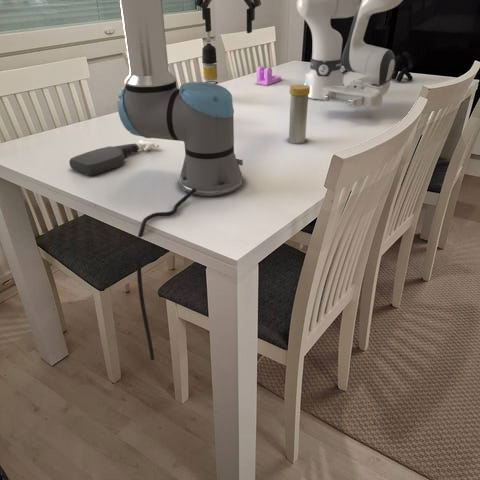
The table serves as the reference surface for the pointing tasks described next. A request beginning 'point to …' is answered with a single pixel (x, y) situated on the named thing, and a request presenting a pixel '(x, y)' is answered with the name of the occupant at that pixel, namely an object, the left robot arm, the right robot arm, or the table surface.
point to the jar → (298, 118)
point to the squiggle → (402, 67)
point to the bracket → (266, 76)
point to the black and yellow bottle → (209, 61)
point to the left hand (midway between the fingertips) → (228, 32)
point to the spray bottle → (106, 157)
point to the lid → (299, 90)
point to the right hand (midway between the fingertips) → (337, 100)
